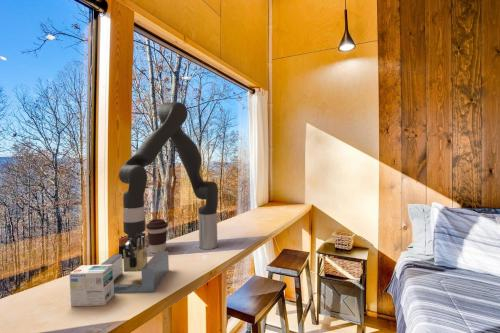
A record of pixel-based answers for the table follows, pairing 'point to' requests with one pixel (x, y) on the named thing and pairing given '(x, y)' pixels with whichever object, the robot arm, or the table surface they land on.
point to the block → (140, 259)
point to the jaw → (115, 265)
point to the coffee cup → (157, 235)
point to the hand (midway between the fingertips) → (135, 264)
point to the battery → (121, 243)
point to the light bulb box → (91, 285)
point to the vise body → (148, 275)
